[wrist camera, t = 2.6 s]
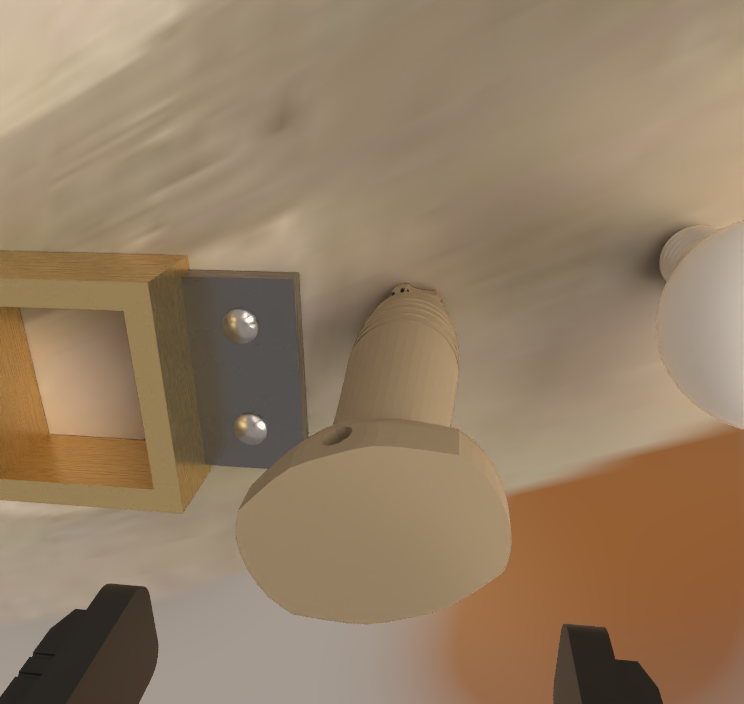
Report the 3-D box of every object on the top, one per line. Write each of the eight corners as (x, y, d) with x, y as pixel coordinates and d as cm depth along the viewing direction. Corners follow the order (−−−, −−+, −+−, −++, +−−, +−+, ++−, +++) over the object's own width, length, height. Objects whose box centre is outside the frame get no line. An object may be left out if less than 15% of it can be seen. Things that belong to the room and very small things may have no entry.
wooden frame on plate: (-117, 247, 31) (-195, 272, 27) (298, 258, 28) (273, 286, 25) (-54, 447, 35) (-114, 491, 31) (310, 470, 33) (291, 521, 29)
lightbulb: (664, 356, 28) (775, 518, 18) (575, 245, 27) (642, 353, 17) (808, 263, 26) (1027, 388, 16) (719, 136, 24) (897, 186, 14)
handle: (326, 287, 29) (203, 489, 15) (467, 240, 27) (472, 417, 13) (365, 382, 30) (286, 641, 17) (501, 342, 29) (536, 593, 15)
